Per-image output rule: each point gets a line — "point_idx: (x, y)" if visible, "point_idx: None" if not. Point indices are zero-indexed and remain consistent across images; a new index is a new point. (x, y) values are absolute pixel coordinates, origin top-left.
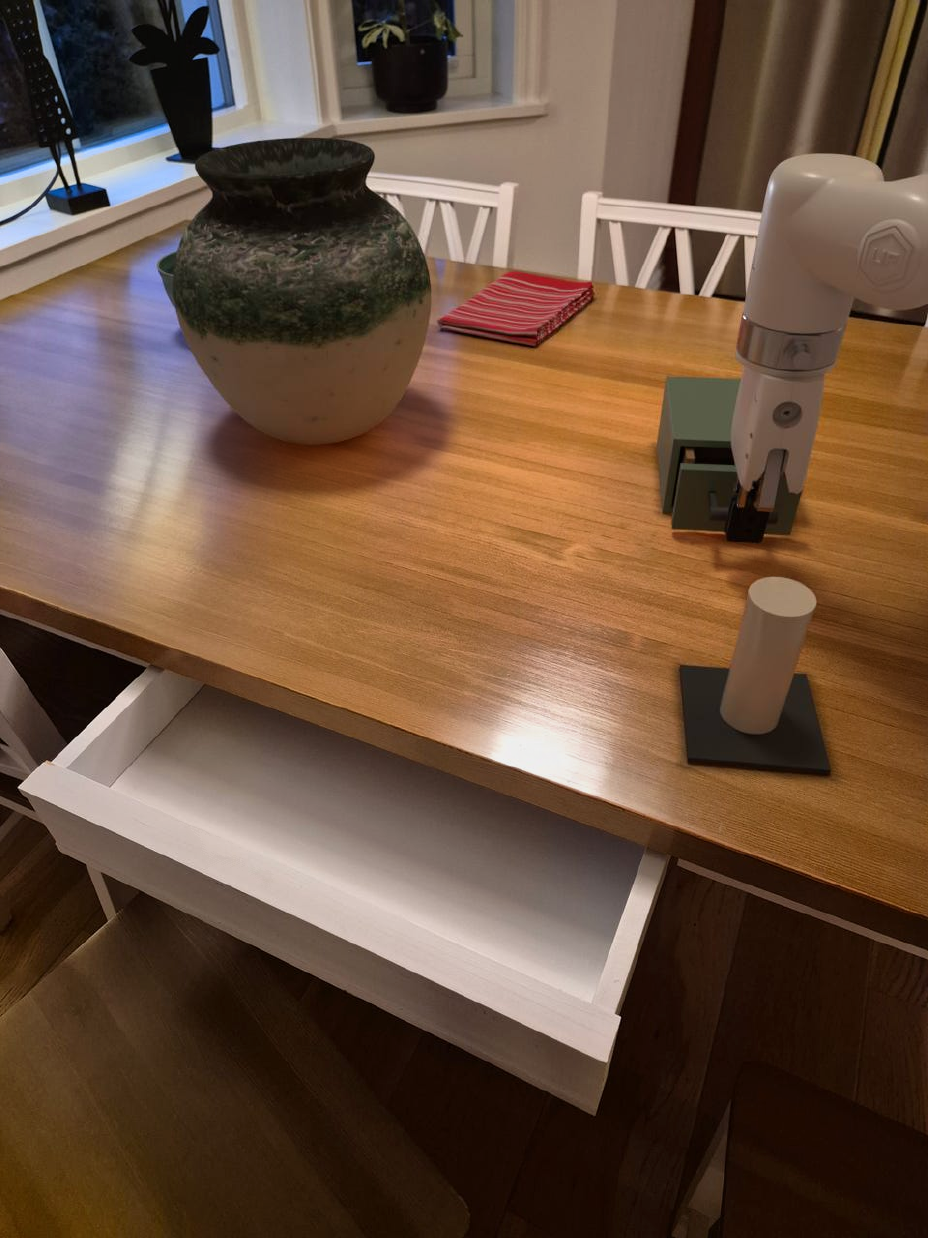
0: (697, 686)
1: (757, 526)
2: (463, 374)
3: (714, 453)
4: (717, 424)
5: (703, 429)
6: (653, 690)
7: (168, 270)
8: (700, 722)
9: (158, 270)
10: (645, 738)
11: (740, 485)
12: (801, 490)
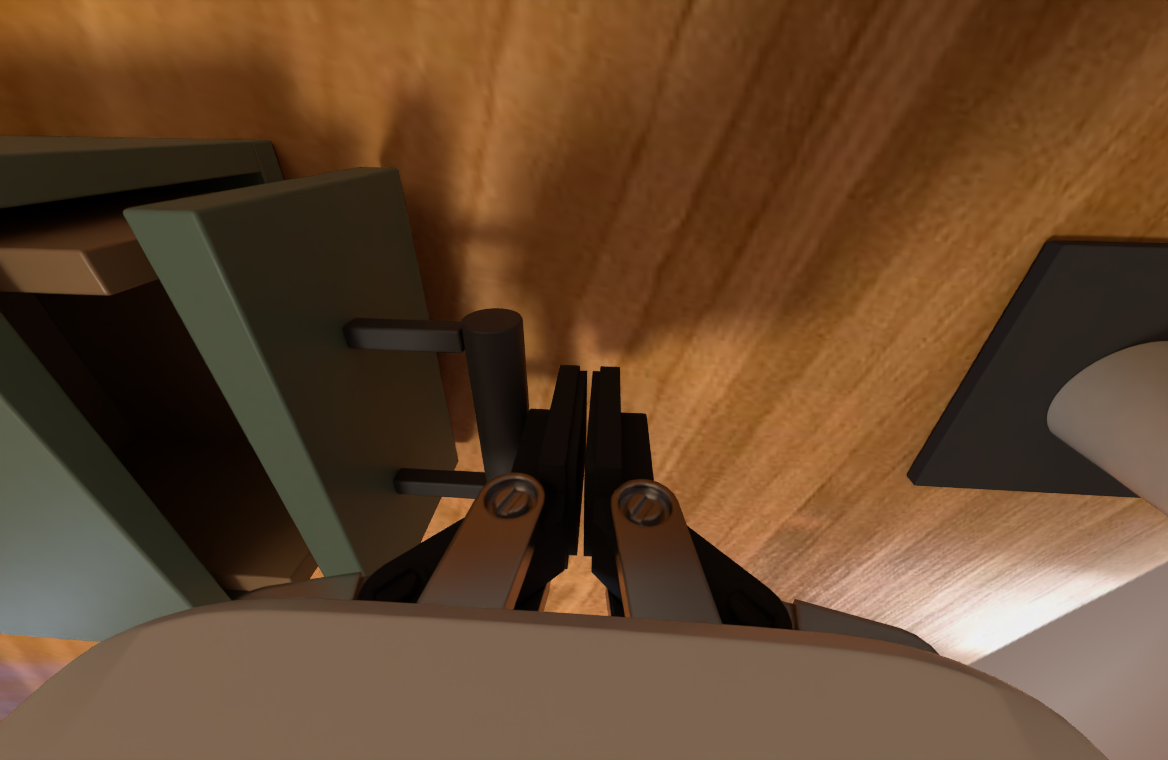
0: (990, 468)
1: (648, 445)
2: (75, 658)
3: (64, 369)
4: (10, 548)
5: (98, 589)
6: (943, 511)
7: None
8: (1093, 476)
9: None
10: (1052, 530)
11: (544, 598)
12: (1076, 729)
